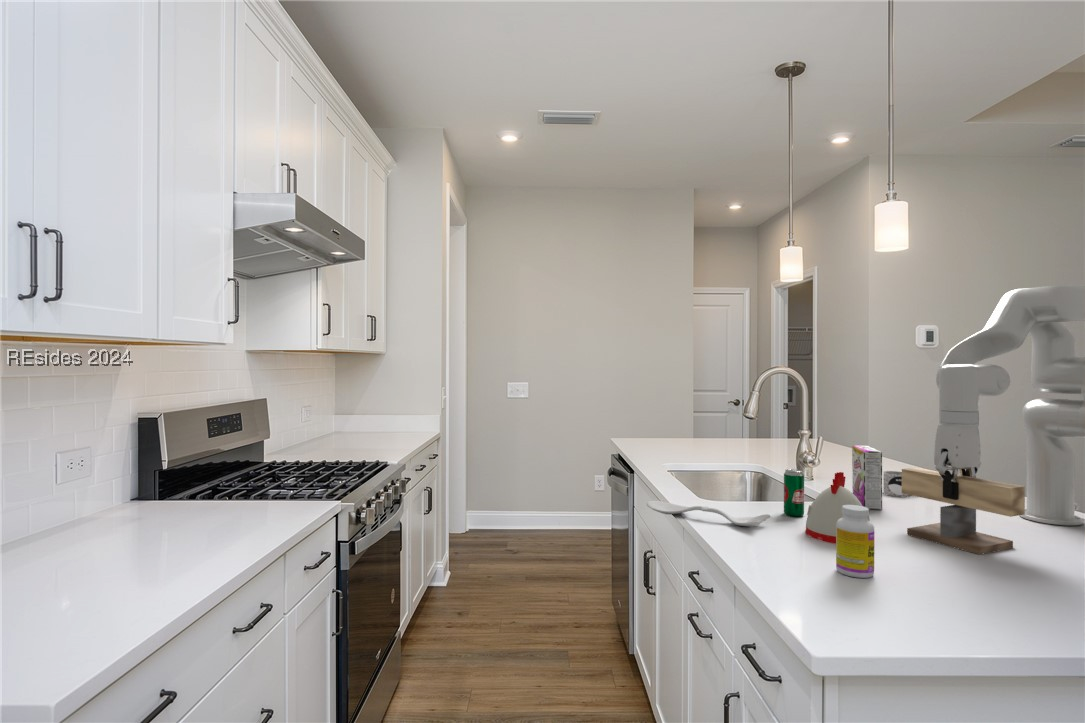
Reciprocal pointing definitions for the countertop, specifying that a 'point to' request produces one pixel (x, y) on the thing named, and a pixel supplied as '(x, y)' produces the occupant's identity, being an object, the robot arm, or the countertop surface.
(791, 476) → the soda can
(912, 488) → the oak beam
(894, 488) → the mug
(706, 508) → the spoon
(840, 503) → the kitchen timer
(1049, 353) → the robot arm
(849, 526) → the supplement bottle
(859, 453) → the candy bar box
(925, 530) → the walnut stand
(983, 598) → the countertop surface
